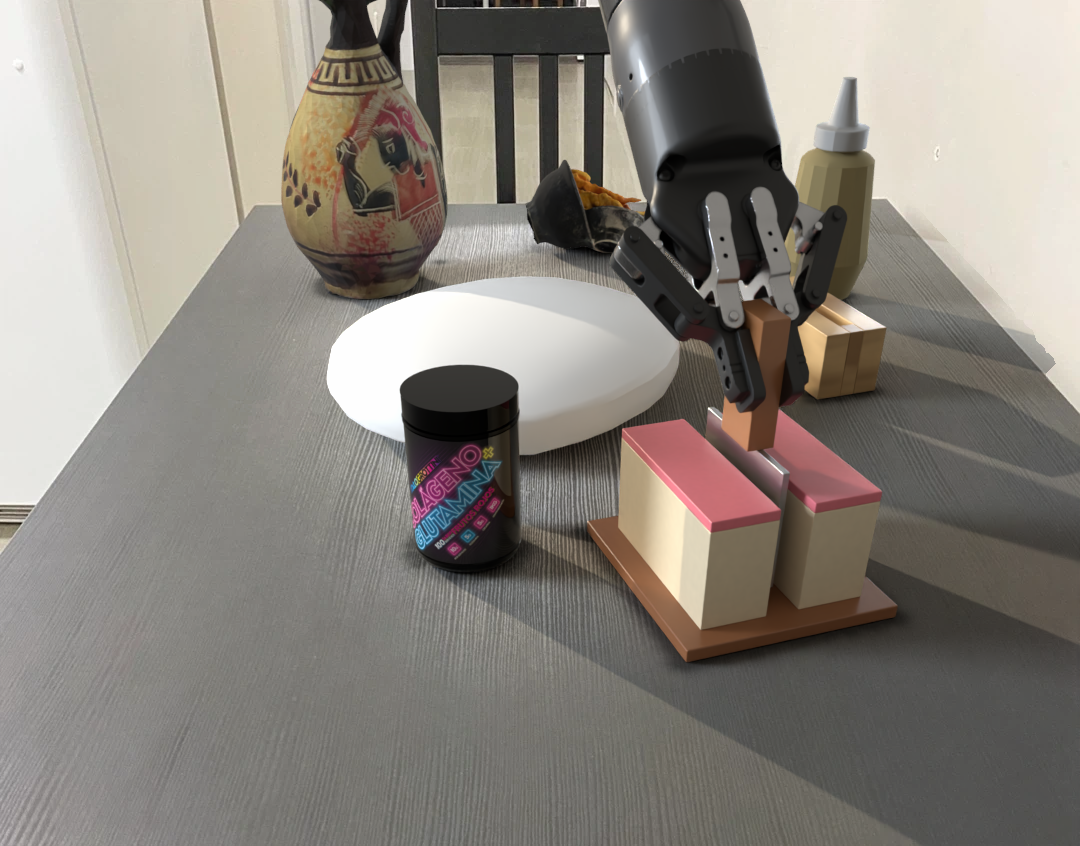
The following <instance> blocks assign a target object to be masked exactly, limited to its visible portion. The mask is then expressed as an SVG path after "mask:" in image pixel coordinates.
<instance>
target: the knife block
mask: <svg viewBox="0 0 1080 846" xmlns="http://www.w3.org/2000/svg"><path fill="white" fill-rule="evenodd" d="M794 278H795V276H793V277H790V281H791V284H792V285H793V282H794ZM742 301H744V300H743V299H742ZM887 330H888V329H887V326H885V325H883V324H881V323H880V322H878V321H876V320H875V319H873V318H871V316H870V317H869V316H868V315H867V314H864V313H863V312H861V311H859V310H857V309H856V308H854V307H853V306H851V305H850V304H848V303H846V302H844V301H843V300H839V299H838V298H836V297H834V296H833V295H831V294H829V293H827V297H826V300H825V302H824V303H823V304H822V305H821V306H820V307H819V308H817V309H816V310H815V311H814V312H813V313H812V314H811V315H810V316H809V317H808V319H807V320H806V321H805V322H804V323H803V324H802V325H801V326H798V331H799V335H800V339H801V343H802V346H803V350H804V355H805V358H806V363H807V365H808V369H809V382H808V383H807V384H806V385H805V389H804V392H807V393H808V394H809V395H810V396H812V397H813V398H814V399H815V400H823V399H830V398H836V397H841V396H847V395H852V394H861V393H867V392H872V391H875V390H876V385H877V381H878V375H879V370H880V365H881V359H882V354H883V349H884V346H885V345H884V344H885V339H886V333H887Z"/></svg>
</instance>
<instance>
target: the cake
mask: <svg viewBox="0 0 1080 846" xmlns="http://www.w3.org/2000/svg"><path fill="white" fill-rule="evenodd" d="M721 413H722V414H723V412H721ZM620 445H621V447H620V448H621V449H620V470H619V471H620V473H619V497H618V515H613V516H607V517H603V518H602V517H601V518H595V519H590V520H587V522H586V532H587V534H588V535H589V536H590V537H591V539H592V540H593V541H594V543H595V544H596V545H597V547H598V548H599V549H600V551H601V552H602V553H603V554H604V556H605V557H606V558H607V560H608V561H609V562H610V564H611V565H612V566H613V568H614V569H615V570H616V572H617V573H618V574H619V576H620V577H621V579H622V580H623V581H624V583H626V585H627V587H628V588H629V589H630V590H631V592H632V593H633V594H634V595H635V597H636V598H637V600H638V601H639V602H640V603H641V605H642V606H643V607H644V609H645V610H646V611H647V613H648V614H649V615H650V617H651V618H652V619H653V621H654V622H655V624H656V625H657V626H658V627H659V629H660V630H661V631H662V632H663V634H664V635H665V637H666V638H667V639H668V640H669V642H670V643H671V645H672V646H673V647H674V648H675V650H676V651H677V652H678V654H679V655H680V656H681V658H682V659H683V660H684V662H685V663H691V662H694V661H699V660H704V659H708V658H709V659H710V658H713V657H718V656H723V655H726V654H731V653H736V652H741V651H745V650H750V649H755V648H760V647H764V646H768V645H772V644H778V643H781V642H786V641H791V640H796V639H801V638H805V637H810V636H815V635H818V634H823V633H827V632H833V631H837V630H842V629H847V628H850V627H856V626H859V625H864V624H869V623H874V622H879V621H882V620H887V619H891V618H895V617H897V611H898V608H899V607H898V604H896V602H895V601H893V600H892V598H890V596H888V595H887V594H886V593H885V592H884V591H882V589H880V588H879V587H878V585H876V584H875V583H874V582H873V581H872V580H871V579H870V578H869V577H867V575H866V574H867V573H866V572H867V568H868V564H869V559H870V554H871V549H872V544H873V539H874V536H875V535H874V534H875V529H876V525H877V521H878V515H879V510H880V507H881V500H882V497H883V496H882V495H883V491H882V490H881V489H880V488H879V487H878V486H876V485H875V484H874V483H873V482H871V481H870V480H869V479H868V478H866V477H865V476H864V475H863V474H861V473H860V472H859V471H858V470H857V469H855V468H854V467H852V466H851V465H850V464H848V462H846V461H845V460H844V459H843V458H841V457H840V456H839V455H838V454H836V453H835V452H834V451H832V450H831V449H830V448H829V447H827V446H826V445H825V444H823V443H822V442H821V441H820V440H819V439H818V438H816V437H815V436H814V435H812V434H811V433H810V432H809V431H808V430H806V429H805V428H804V427H802V426H801V425H800V424H799V423H797V422H796V421H795V420H794V419H792V418H791V417H790V416H788V415H787V414H786V413H785V412H784V411H783V410H781V409H780V408H779V411H778V418H777V425H776V433H775V440H774V447H773V448H769V449H763V450H764V451H765V452H766V453H768V454H769V455H770V456H771V457H772V458H773V459H774V460H776V461H777V462H778V463H779V464H780V465H781V466H783V467H784V468H785V469H786V470H787V471H788V472H789V473H790V476H789V483H788V489H787V496H786V503H785V509H784V516H783V522H782V529H781V536H780V542H779V549H778V556H777V562H776V569H775V576H774V582H773V587H770V585H771V579H772V572H773V565H774V558H775V551H776V545H777V538H778V531H779V524H780V516H781V509H780V508H778V507H777V506H776V505H775V504H774V503H773V502H772V501H771V500H770V499H769V498H768V497H767V496H766V495H765V494H764V493H762V492H761V491H760V490H759V489H758V488H757V487H756V486H755V485H754V484H753V483H752V482H751V481H750V480H749V479H748V478H746V477H745V476H744V475H743V474H742V473H741V472H740V471H739V470H738V469H737V468H736V467H735V466H734V465H733V464H731V463H730V462H729V461H728V460H727V459H726V458H725V457H724V456H723V455H722V454H721V453H720V452H719V451H718V450H717V449H715V448H714V447H713V446H712V445H711V444H710V443H709V442H708V441H707V440H706V439H705V437H704V436H703V435H702V434H701V433H700V432H698V430H697V429H696V428H694V426H693V425H691V424H690V423H689V422H688V421H687V420H686V419H684V418H680V419H675V420H673V419H672V420H668V421H662V422H661V421H660V422H655V423H654V422H653V423H649V424H642V425H636V426H630V427H623V428H622V429H621V444H620Z"/></svg>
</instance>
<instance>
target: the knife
mask: <svg viewBox="0 0 1080 846" xmlns="http://www.w3.org/2000/svg"><path fill="white" fill-rule="evenodd" d="M741 302H742V307H743V312H744V317H745V319H744V323H743V324H742V328H743V329H750V333H751V337H752V340H753V344H754V348H755V352H756V356H757V360H758V362H759V365H760V369H761V373H762V377H763V381H764V384H765V388H766V398H765V400H764V401H763V402H762V403H761V404H760V405H759V406H758V407H757V408H756V409H755V410H754V411H751V412H745V413H739V412H738V410H737V408H736V405H735V403H729V401H728V400H727V398H726V397H725V396H724V400H723V409H722V412H721V411H720V410H719V409H717V408H716V406H710V407H708V408H707V416H706V427H705V437H704V438H705V439H706V440H707V441H708V442H709V443H710V444H711V445H712V446H713V447H714V448H715V449H717V450H718V451H719V452H720V453H721V454H722V455H723V456H724V457H725V458H726V459H727V460H728V461H729V462H730V463H731V464H733V465H734V466H735V467H736V468H737V469H738V470H739V471H740V472H741V473H742V474H743V475H744V476H745V477H746V478H748V479H749V480H750V481H751V482H752V483H753V484H754V485H755V486H756V487H757V488H758V489H759V490H760V491H761V492H762V493H764V494H765V495H766V496H767V497H768V498H769V499H770V500H771V501H772V502H773V503H774V504H775V505H776V506H777V507H778V508H780V509H781V516H780V524H779V531H778V538H777V545H776V551H775V558H774V565H773V572H772V579H771V585H770V587H773V582H774V576H775V569H776V562H777V556H778V549H779V542H780V536H781V529H782V522H783V516H784V509H785V503H786V496H787V489H788V483H789V476H790V473H789V472H788V471H787V470H786V469H785V468H784V467H783V466H781V465H780V464H779V463H778V462H777V461H776V460H774V459H773V458H772V457H771V456H770V455H769V454H768V453H766V452H765V451H764V450H763V449H769V448H773V447H774V440H775V433H776V425H777V418H778V411H779V409H780V407H779V402H780V395H781V388H782V381H783V373H784V366H785V359H786V353H787V346H788V338H789V331H790V324H791V318H790V317H788V316H787V315H785V314H784V313H782V312H781V311H779V310H778V309H776V308H775V307H773V306H772V305H770V304H769V303H767V302H766V301H764V300H763V299H755V300H747V301H743V300H741ZM722 413H723V414H722Z"/></svg>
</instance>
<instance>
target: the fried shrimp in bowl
mask: <svg viewBox="0 0 1080 846" xmlns="http://www.w3.org/2000/svg"><path fill="white" fill-rule="evenodd" d="M590 181H591V176H590V175H589V174H588V172H586V171H583V170H580V169H576V168H575V169H574V168H571V166H570V165H569V161H567V159H562V161H561V163H560V165H559V167H558V168H556V169H555V170H553V171H551V172H549V173H548V174H547V175H545V177H544V178H543V179H542V180H541V182H540V183H539V184H538V186H537V187H536V190H535V192H534V194H533V196H532V198H531V200H530V201H528V202H526V203H525V208H526V221H527V222H528V225H529V226H530V229H531V230H532V234H533V240H534V241H535V243H536V244H537V245H540V244H542V243H543V244H544V243H546V244H550V245H552V246H554V247H556V248H560V249H567V250H570V249H571V250H572V249H573V250H574V249H577V248H578V249H579V248H588V249H591V250H594V251H595V252H598V253H599V252H600V253H603V254H612V253H613V252H614V250H615V248H616V246H617V244H618V242H619V240H620V239H621V237H622V235H623V233H624V231H625V230H626V229H627V228H628V227H631V226H635V227H639V226H640V225H641V224H643V223H644V214H645V210H644V211H642V210H641V211H639V210H633V209H631V207H630V206H629V204H630V203H633V204H635V203H639V202H642V199H641V198H636V197H633V196H632V197H625V196H623V195H621V194H619V193H616V192H613V191H612V190H609V189H607V188H605V187H604V186H598V185H597V184H596V183H591V182H590Z"/></svg>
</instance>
